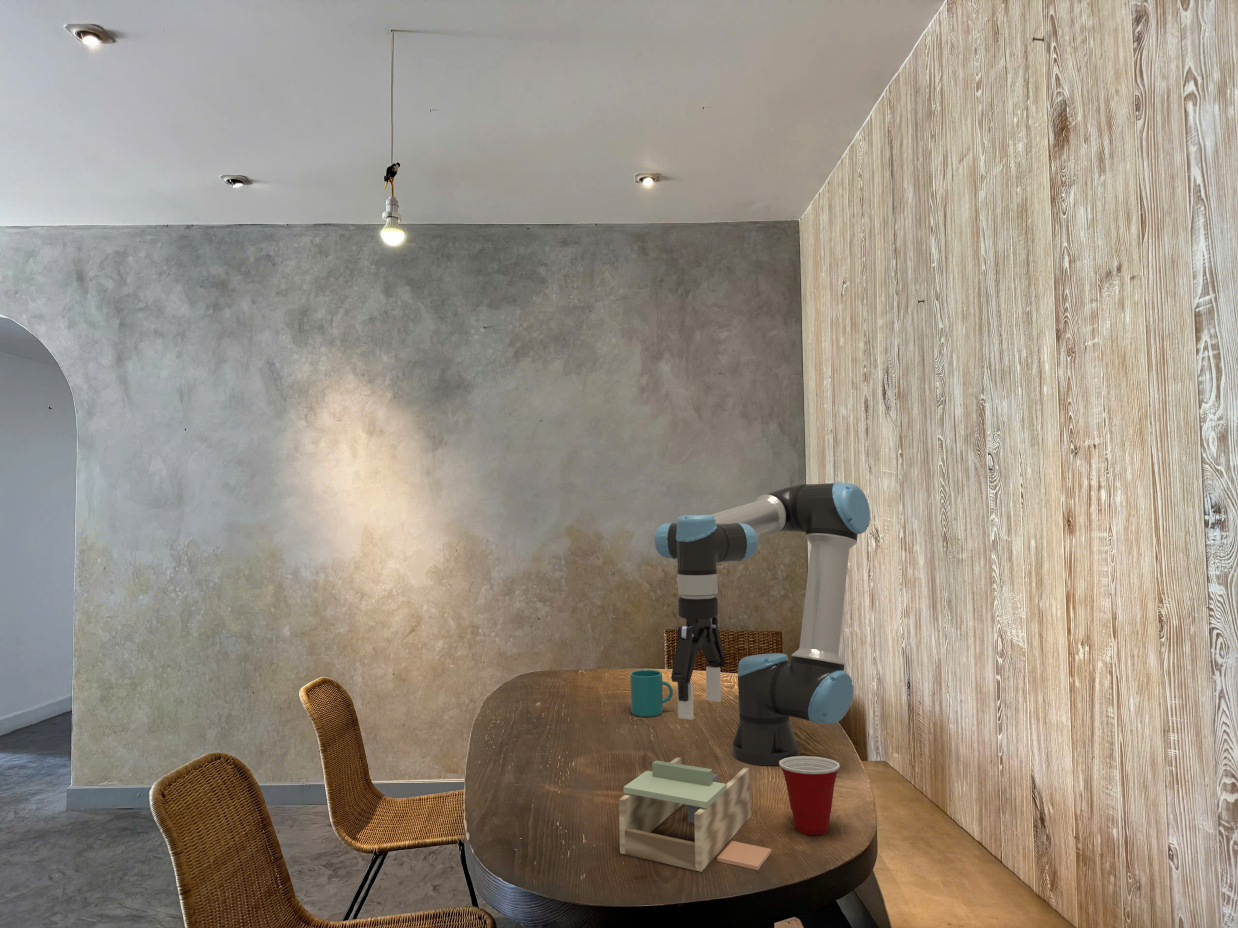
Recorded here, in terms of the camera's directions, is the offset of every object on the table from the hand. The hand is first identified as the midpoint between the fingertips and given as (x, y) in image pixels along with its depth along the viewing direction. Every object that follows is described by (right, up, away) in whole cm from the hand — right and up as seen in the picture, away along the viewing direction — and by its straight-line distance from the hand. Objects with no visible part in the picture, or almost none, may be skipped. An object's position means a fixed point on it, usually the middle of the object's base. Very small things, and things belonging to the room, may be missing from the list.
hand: (700, 709), depth 145 cm
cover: (-6, -11, -11) cm, 16 cm away
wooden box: (-3, -20, -7) cm, 22 cm away
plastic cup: (+20, -20, -6) cm, 28 cm away
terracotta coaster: (+6, -20, -16) cm, 26 cm away
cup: (-6, -24, +72) cm, 76 cm away
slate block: (0, -21, -1) cm, 20 cm away
